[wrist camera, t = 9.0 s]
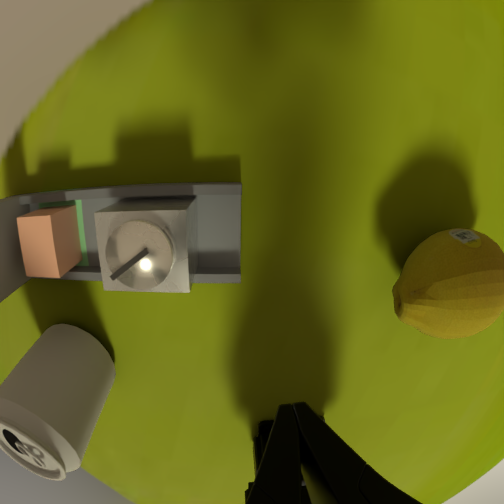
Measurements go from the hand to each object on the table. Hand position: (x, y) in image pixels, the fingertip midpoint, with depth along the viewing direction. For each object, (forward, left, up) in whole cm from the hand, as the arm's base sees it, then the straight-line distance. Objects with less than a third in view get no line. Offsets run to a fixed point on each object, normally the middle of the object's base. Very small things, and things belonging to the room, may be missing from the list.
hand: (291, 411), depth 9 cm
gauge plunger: (+7, -3, -12) cm, 14 cm away
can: (+15, +8, -13) cm, 22 cm away
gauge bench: (+10, -3, -13) cm, 17 cm away
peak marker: (+14, -3, -12) cm, 19 cm away
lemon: (-14, 0, -13) cm, 19 cm away
